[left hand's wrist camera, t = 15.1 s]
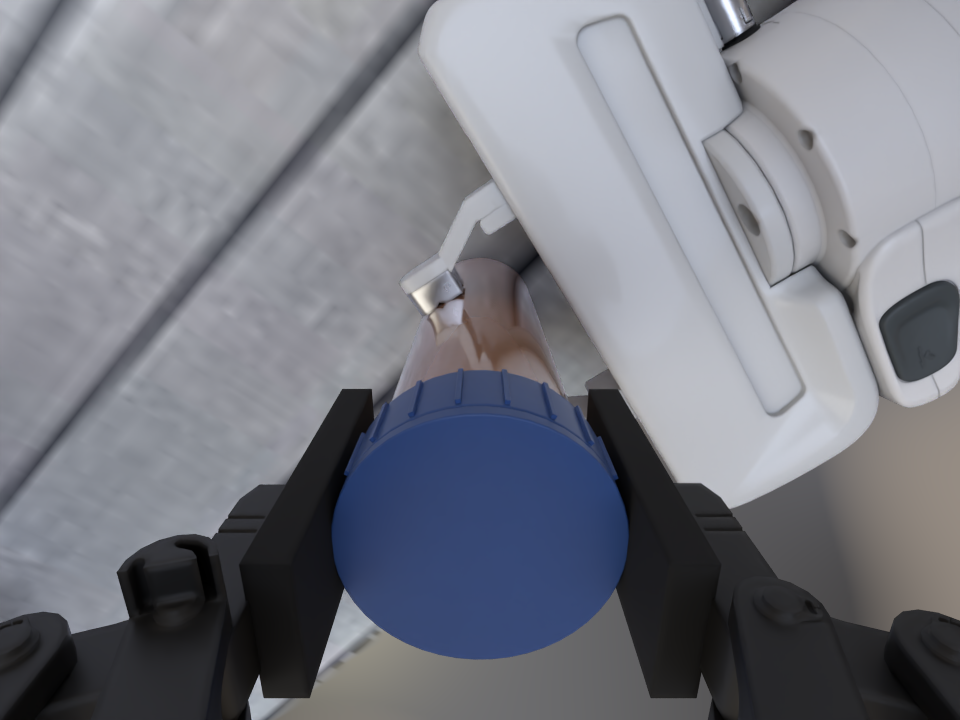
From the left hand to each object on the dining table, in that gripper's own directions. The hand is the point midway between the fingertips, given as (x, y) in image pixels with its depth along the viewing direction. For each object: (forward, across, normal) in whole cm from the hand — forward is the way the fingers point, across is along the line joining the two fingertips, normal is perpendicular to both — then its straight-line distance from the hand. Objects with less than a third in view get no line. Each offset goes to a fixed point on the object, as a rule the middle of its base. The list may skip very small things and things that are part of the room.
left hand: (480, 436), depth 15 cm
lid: (-4, 0, 0) cm, 4 cm away
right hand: (+7, -1, 0) cm, 7 cm away
